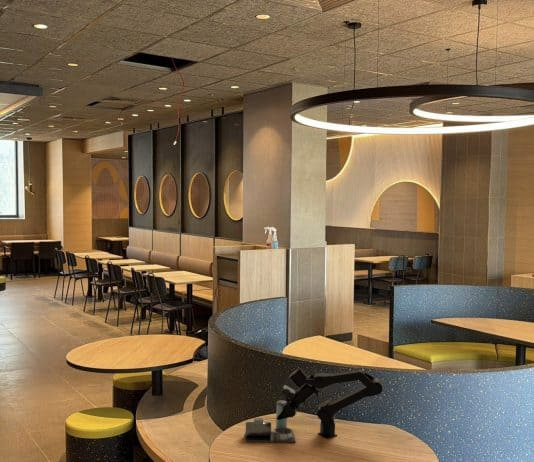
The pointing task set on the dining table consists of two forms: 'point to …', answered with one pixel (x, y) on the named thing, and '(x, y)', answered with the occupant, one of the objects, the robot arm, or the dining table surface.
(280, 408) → the green capped cylinder
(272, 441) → the grey socket base
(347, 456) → the dining table surface
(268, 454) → the dining table surface
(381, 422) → the dining table surface
